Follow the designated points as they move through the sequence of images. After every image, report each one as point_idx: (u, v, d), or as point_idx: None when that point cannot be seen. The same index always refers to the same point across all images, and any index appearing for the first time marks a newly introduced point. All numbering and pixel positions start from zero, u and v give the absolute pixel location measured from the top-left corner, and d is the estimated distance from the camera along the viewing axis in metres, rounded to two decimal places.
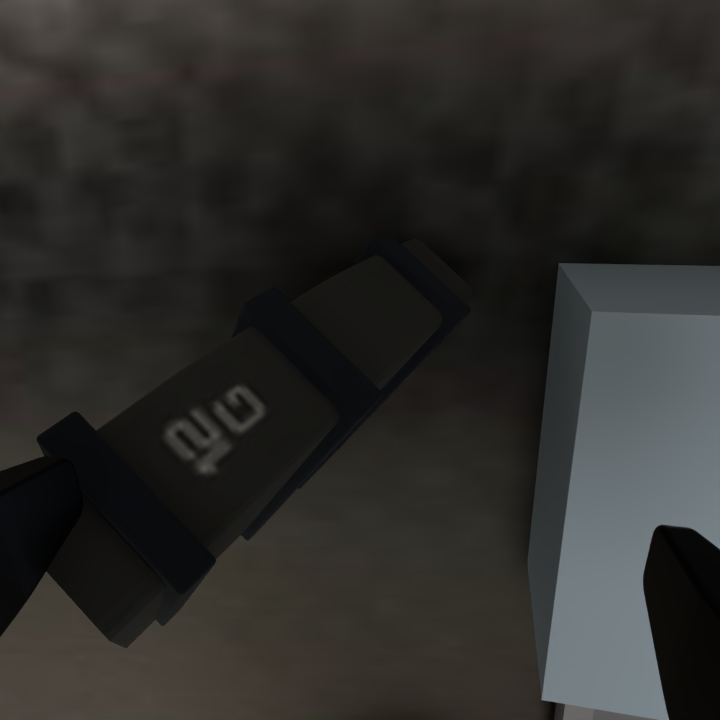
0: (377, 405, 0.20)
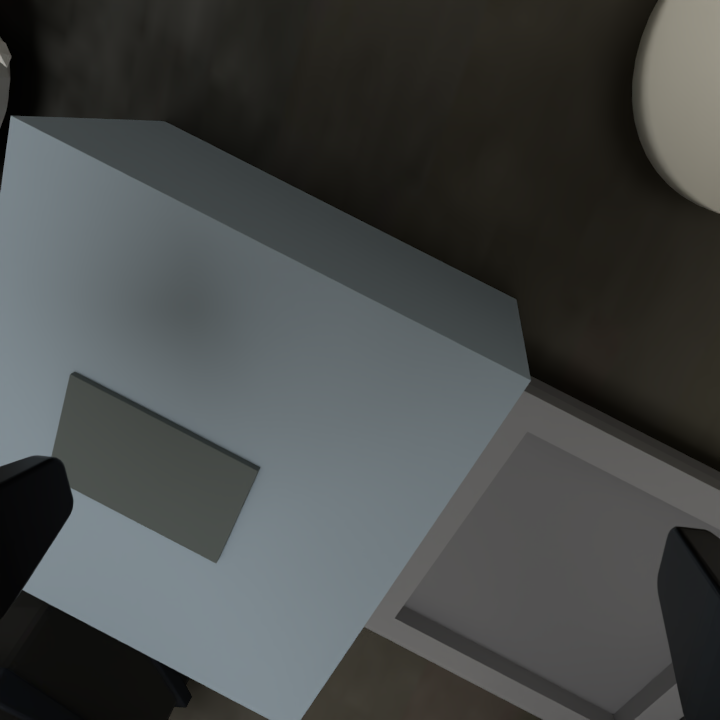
0: None
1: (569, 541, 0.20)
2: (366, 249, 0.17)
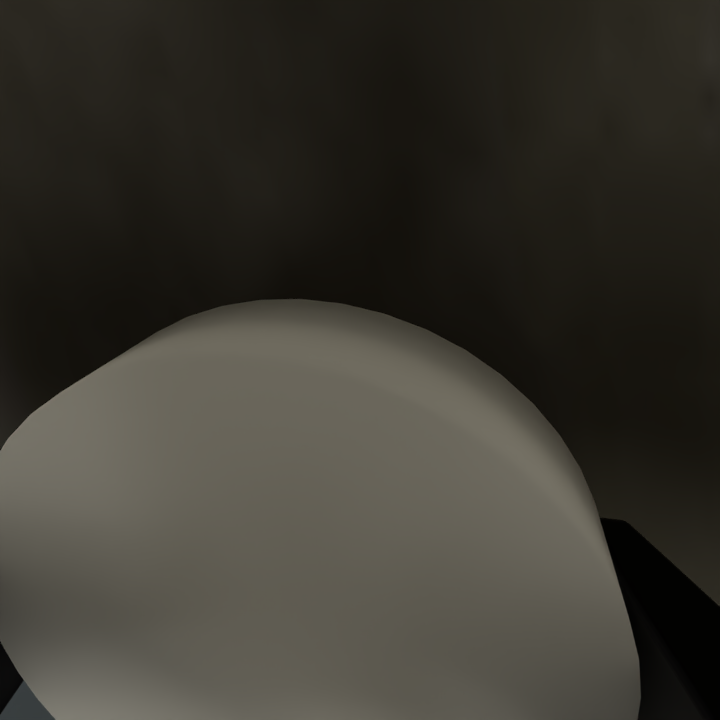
0: None
1: None
2: None
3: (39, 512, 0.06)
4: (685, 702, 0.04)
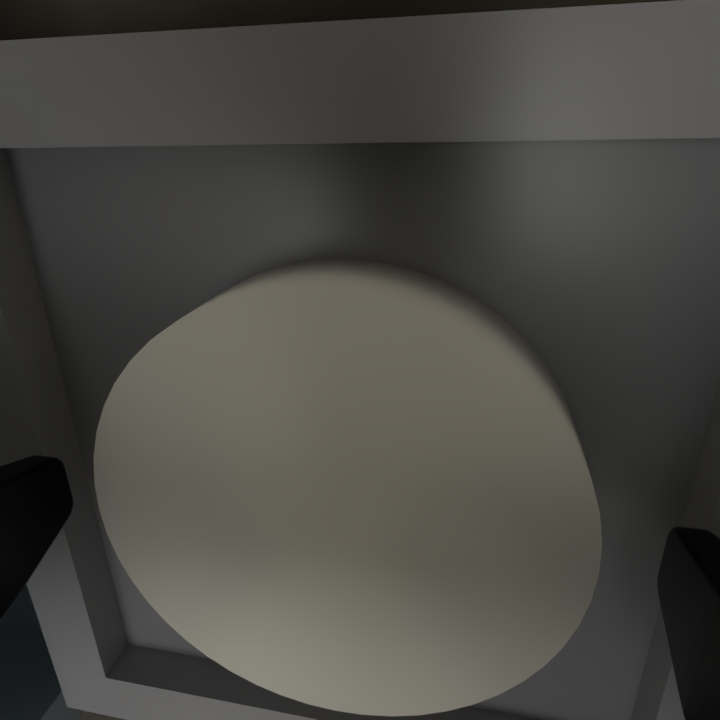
0: None
1: None
2: None
3: (149, 418, 0.07)
4: None
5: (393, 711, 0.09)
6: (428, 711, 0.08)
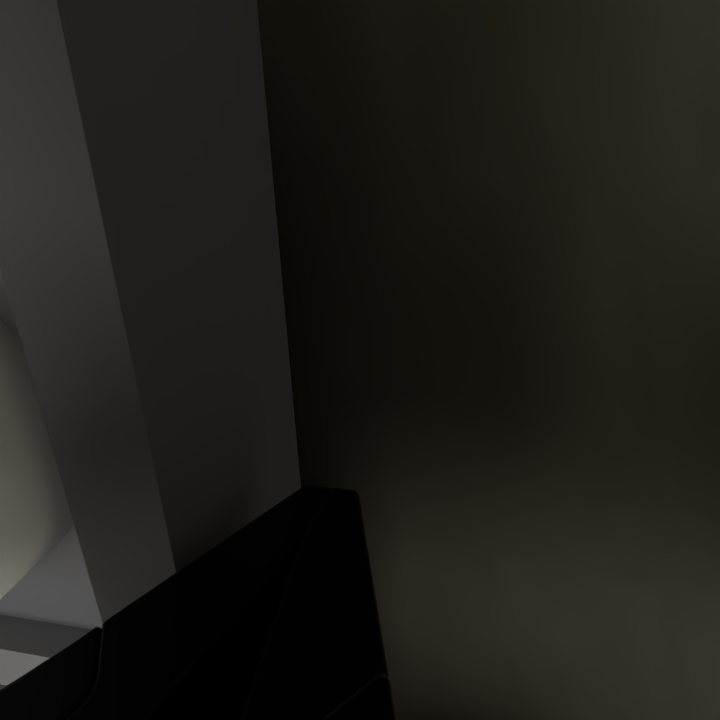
0: None
1: None
2: None
3: None
4: None
5: None
6: None
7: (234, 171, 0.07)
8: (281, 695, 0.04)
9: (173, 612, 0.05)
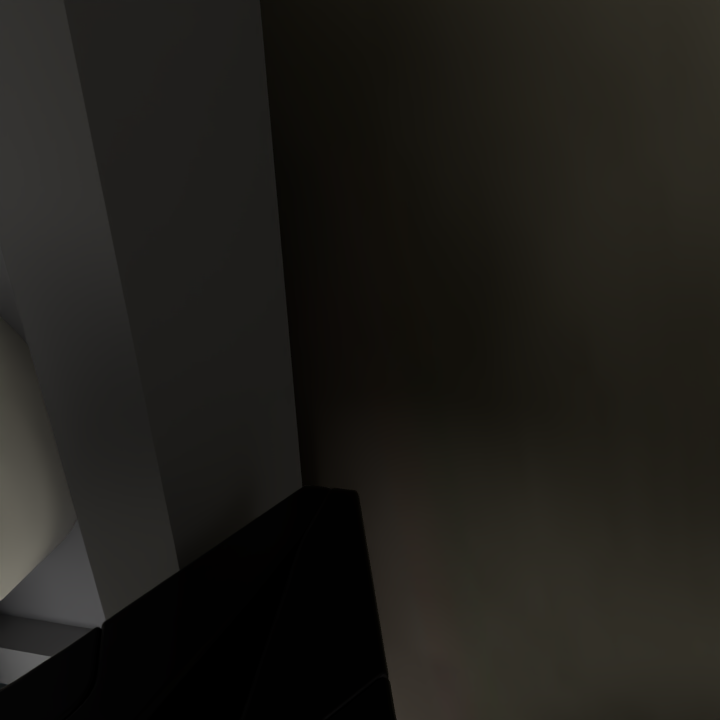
0: None
1: None
2: None
3: None
4: None
5: None
6: None
7: (238, 173, 0.07)
8: (281, 695, 0.04)
9: (173, 612, 0.05)
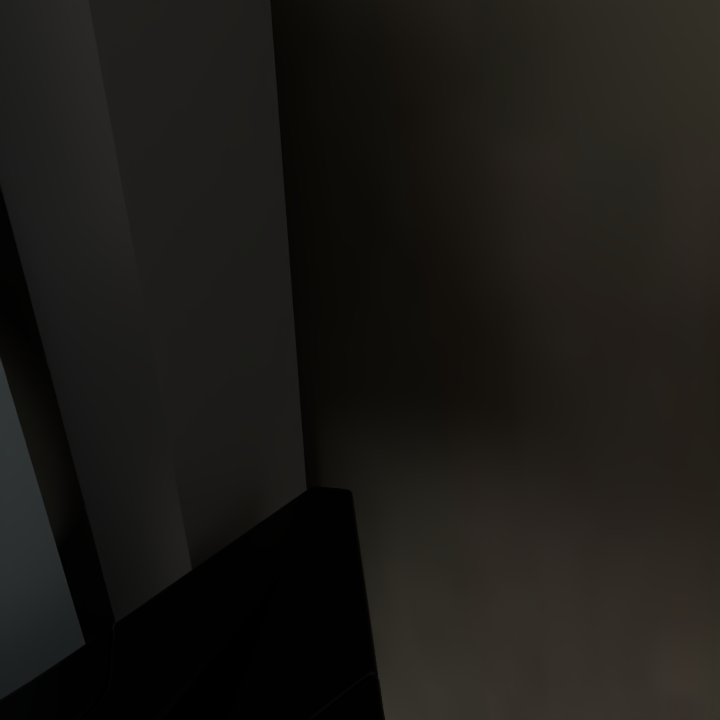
0: None
1: None
2: None
3: None
4: None
5: None
6: None
7: (249, 174, 0.07)
8: (270, 693, 0.04)
9: (184, 614, 0.05)
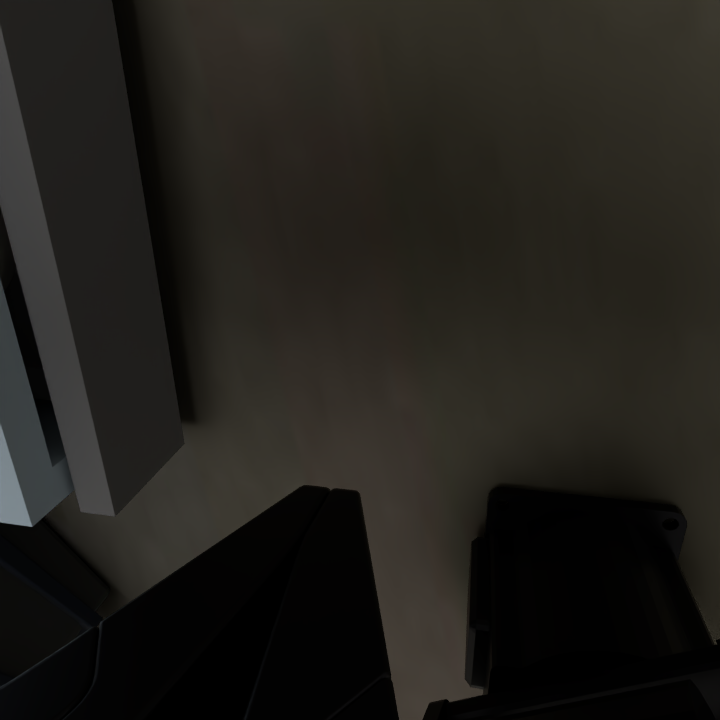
0: None
1: None
2: None
3: None
4: None
5: None
6: None
7: (85, 28, 0.14)
8: (284, 696, 0.04)
9: (171, 612, 0.05)
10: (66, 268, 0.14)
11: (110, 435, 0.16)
